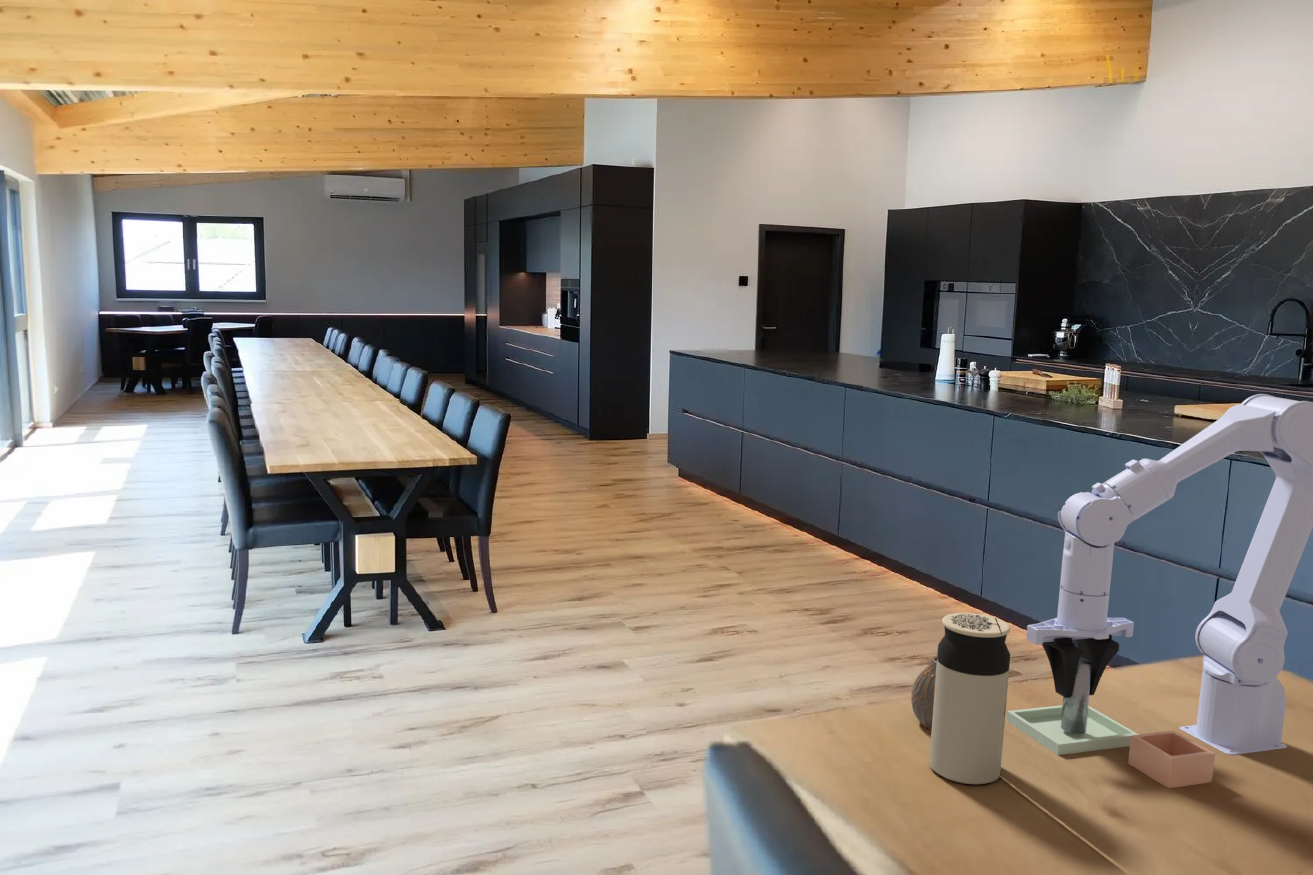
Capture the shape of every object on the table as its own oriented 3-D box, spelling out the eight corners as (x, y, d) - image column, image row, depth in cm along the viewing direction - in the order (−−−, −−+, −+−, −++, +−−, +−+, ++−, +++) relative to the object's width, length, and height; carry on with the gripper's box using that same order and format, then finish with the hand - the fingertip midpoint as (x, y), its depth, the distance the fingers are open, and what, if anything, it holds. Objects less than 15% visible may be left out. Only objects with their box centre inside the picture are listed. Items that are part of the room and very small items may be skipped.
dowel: (1073, 722, 129) (1079, 655, 128) (1091, 731, 126) (1097, 663, 125) (1055, 725, 128) (1061, 657, 127) (1073, 734, 125) (1079, 665, 124)
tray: (1082, 715, 134) (1083, 702, 134) (1138, 748, 124) (1139, 734, 124) (1005, 724, 130) (1007, 710, 130) (1057, 758, 121) (1058, 744, 121)
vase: (967, 739, 126) (972, 672, 124) (910, 732, 127) (915, 666, 126) (962, 716, 132) (967, 653, 131) (908, 711, 134) (913, 648, 132)
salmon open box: (1169, 761, 121) (1173, 730, 121) (1211, 785, 115) (1215, 753, 115) (1127, 767, 119) (1131, 735, 119) (1167, 792, 113) (1171, 758, 113)
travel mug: (925, 778, 115) (937, 627, 112) (932, 749, 122) (942, 607, 120) (999, 792, 112) (1012, 638, 110) (1000, 762, 120) (1013, 617, 117)
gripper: (1057, 602, 119) (1047, 711, 121) (1156, 595, 123) (1145, 700, 125) (1019, 585, 125) (1010, 688, 127) (1114, 579, 130) (1104, 679, 132)
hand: (1074, 693), depth 127 cm, fingers closed on dowel, 3 cm apart
